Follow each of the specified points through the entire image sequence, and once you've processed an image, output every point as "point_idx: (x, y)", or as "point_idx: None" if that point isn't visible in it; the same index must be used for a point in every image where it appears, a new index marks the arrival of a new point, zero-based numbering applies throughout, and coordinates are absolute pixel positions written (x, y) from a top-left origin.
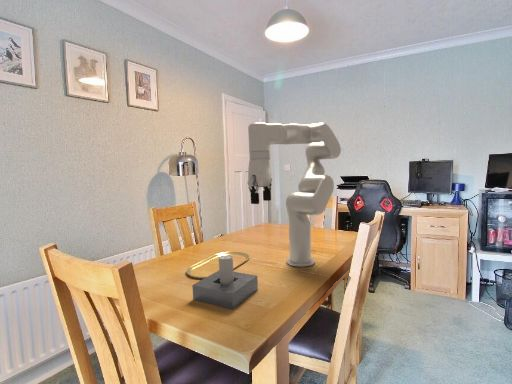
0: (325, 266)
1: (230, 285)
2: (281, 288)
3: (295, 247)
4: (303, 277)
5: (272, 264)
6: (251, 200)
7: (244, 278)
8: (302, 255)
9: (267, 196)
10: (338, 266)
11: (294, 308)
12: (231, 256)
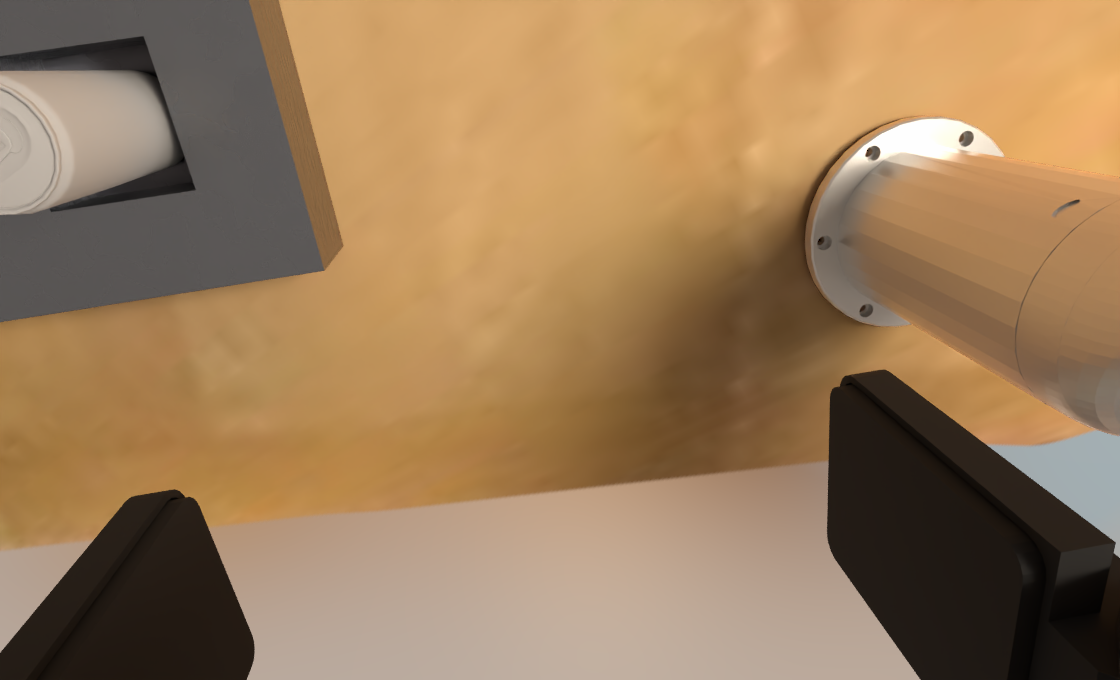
0: None
1: (62, 225)
2: (441, 352)
3: (905, 266)
4: (652, 372)
5: (786, 55)
6: (99, 562)
7: (221, 226)
8: (878, 296)
9: (885, 559)
10: None
11: (292, 513)
12: (53, 177)
